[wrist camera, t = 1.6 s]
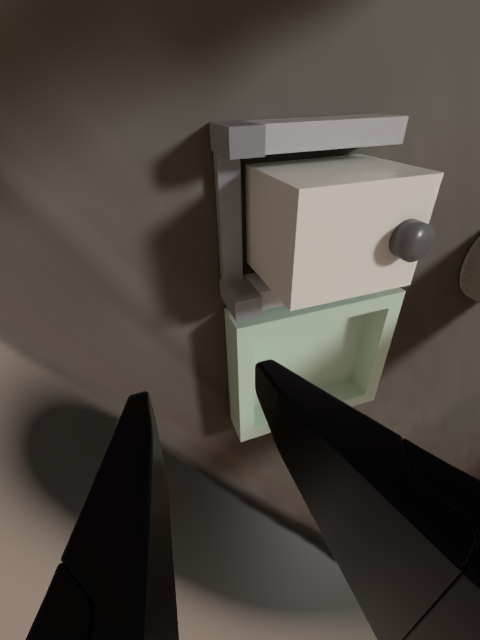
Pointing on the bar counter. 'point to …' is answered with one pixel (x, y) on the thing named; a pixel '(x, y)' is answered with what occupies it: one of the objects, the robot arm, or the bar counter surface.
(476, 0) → the bar counter surface
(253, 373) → the tray
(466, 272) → the thermos bottle
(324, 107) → the bar counter surface
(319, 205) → the cream knobbed cube
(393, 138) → the dock
